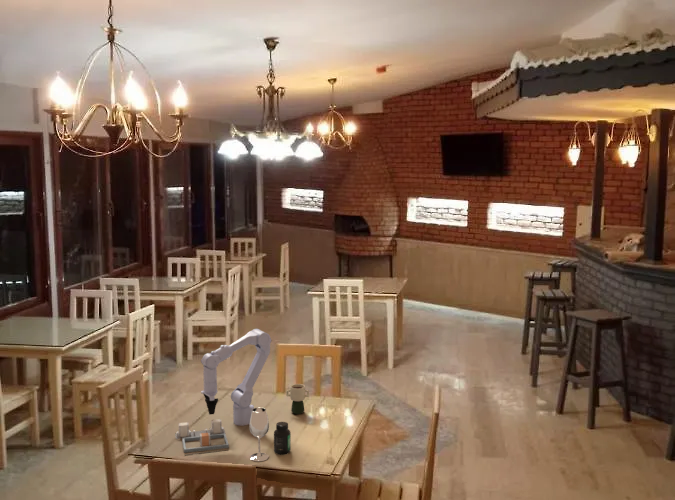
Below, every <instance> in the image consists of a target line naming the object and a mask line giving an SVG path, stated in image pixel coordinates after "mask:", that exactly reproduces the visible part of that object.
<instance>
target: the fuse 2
mask: <svg viewBox="0 0 675 500" xmlns="http://www.w3.org/2000/svg"><path fill="white" fill-rule="evenodd" d="M222 424H223V423H222V419H221V418H218V419H211V430H212V434H215V433H222V427H223V426H222Z"/></svg>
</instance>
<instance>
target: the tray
mask: <svg viewBox="0 0 675 500" xmlns="http://www.w3.org/2000/svg"><path fill="white" fill-rule="evenodd" d="M220 438H221V439H223V440H224V444H223V443H222V444H217V445H215V444H214V445H209V446H198V447H197V446H196V447H186V442H195V441H200V436H197V437H187V438H181V439H182V441H181V442H182V448H183V454H185V453H187V454H186V456H193V455H194V452H199V453H195V455H200V454H201V455H202V454H203V452H204V454H209V453H210V454H211V453H212V450H213V453H218V452H219V453H220V452H221V449H225V450H222V452H226V451H227V452H228V451H229V448H230V445H229V441H228V438H227V434H216V435H210V440H212V439H220ZM214 450H216V451H214ZM217 450H218V451H217ZM205 451H206V452H205ZM207 451H208V452H207Z"/></svg>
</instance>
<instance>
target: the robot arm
mask: <svg viewBox="0 0 675 500" xmlns="http://www.w3.org/2000/svg"><path fill="white" fill-rule="evenodd" d="M272 341H273V340H272V337H271V335H270V333H268V332H265V331H263V330H261V329H259V328H253V329H252V330H250V331H248V332H247V333H246V334H245V335H243V336H241V337H240V338H238V339H237V340H235V341H234V342H232V343H231V344H229V345H228V344H221V345H220V346H219V348H217V349H215V350H212V351H210V352H207V353H204V355H203V356H202V358H201V359H200V362H201V365H203V367H202V369H203V371H202V372H203V375H202V376H203V390H201V391H200V393H201V394H202V395H203V396H204V402H205V403H206V408H207V411H208V415H215V413H216V406H217V403H218V402H219V398H216V397H215V396H216V395H217V394H218V379H217V378H218V377H217V376H218V373H217V372H218V371H217V367H218V366H219V364H220V363H222V362H224V361H225V360H227V359H229V358H231V357H232V355H233V353H234V352H236V351H238V350H240V349H242V348H243V347H246V346H248V345H252V346H254V347H255V349H256V353H255V355H254V358H253V360H252V361H251V363H250V366H249V367H248V369H247V372H246V374H245V375H244V376H243V377H244V378H243V380H242V382H241V383H240V384H238V385H236V387H235V389H233V391H232V392H231V393H230V394H231V395H230V399H231V401H232V403H233V404H232V407H233V408H232V409H233V411H232V412H233V413H232V416H233V424H234V425H235V426H247V425H250V418H251V413H252V409H254V408H255V406H254V404H252V398H253V395H254V390H253V389H254V386H255V384H256V383H257V380H258V378H259V375H260V374H261V372H262V370H263V368H264V366H265V363H266V362H267V360H268V358H269V356H270V353H271V343H272Z"/></svg>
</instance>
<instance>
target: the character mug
mask: <svg viewBox="0 0 675 500" xmlns="http://www.w3.org/2000/svg"><path fill="white" fill-rule="evenodd" d="M289 392H290V393H289ZM285 393H286V397H290V400H291V401H292V403H291V408H290V409H291V410H290V411H291V413H292V414H295V415H299V414H300V415H301V414H303V413H304V412H305V404H304V400H306V399H305V398H306V397H307V398H309V397H310V390H309V389H306V385H305V384H302V383H295V384H292V385H290V387H289V389H286V391H285Z"/></svg>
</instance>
